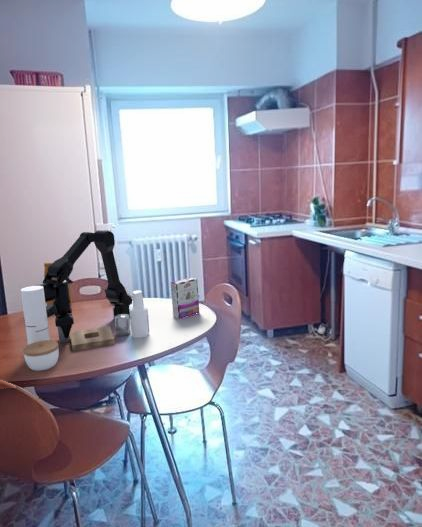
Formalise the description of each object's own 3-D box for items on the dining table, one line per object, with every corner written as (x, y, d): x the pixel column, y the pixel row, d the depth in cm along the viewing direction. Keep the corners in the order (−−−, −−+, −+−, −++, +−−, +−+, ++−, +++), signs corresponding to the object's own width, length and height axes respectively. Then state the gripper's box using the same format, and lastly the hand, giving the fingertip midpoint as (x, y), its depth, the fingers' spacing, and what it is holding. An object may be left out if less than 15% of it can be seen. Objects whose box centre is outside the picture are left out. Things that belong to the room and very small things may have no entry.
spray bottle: (152, 334, 166) (149, 289, 163) (144, 340, 160) (140, 294, 156) (137, 332, 168) (133, 288, 165) (128, 339, 162) (124, 293, 158)
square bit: (69, 339, 165) (67, 319, 163) (70, 342, 161) (67, 322, 159) (59, 340, 163) (57, 321, 162) (59, 344, 160) (57, 324, 158)
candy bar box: (193, 312, 191) (191, 276, 188) (199, 314, 187) (198, 278, 184) (172, 318, 184) (170, 281, 181) (178, 320, 180) (176, 283, 177)
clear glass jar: (129, 332, 169) (127, 313, 168) (132, 336, 164) (130, 317, 163) (115, 334, 167) (113, 315, 166) (117, 339, 162) (115, 319, 161)
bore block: (109, 333, 169) (109, 325, 169) (115, 346, 156) (114, 338, 155) (71, 339, 164) (70, 332, 164) (73, 353, 151) (72, 345, 150)
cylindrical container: (33, 354, 152) (24, 286, 147) (54, 352, 152) (46, 285, 147) (27, 362, 145) (17, 291, 140) (48, 361, 145) (39, 290, 140)
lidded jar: (26, 365, 142) (22, 339, 140) (59, 359, 146) (56, 333, 145) (26, 378, 133) (22, 350, 131) (62, 371, 137) (58, 344, 135)
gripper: (39, 293, 165) (44, 331, 168) (37, 306, 148) (43, 348, 151) (69, 290, 169) (73, 327, 172) (71, 302, 151) (76, 343, 155)
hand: (66, 336), depth 162 cm, fingers open, 4 cm apart
